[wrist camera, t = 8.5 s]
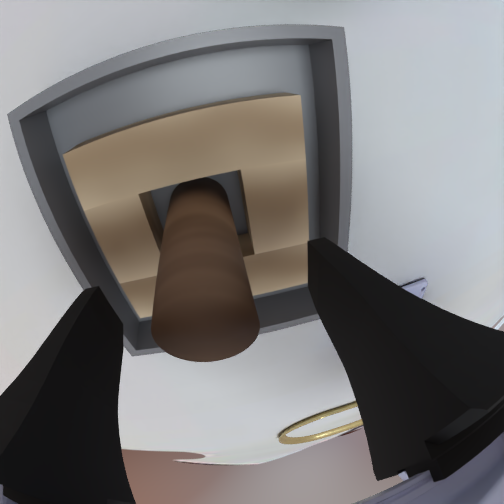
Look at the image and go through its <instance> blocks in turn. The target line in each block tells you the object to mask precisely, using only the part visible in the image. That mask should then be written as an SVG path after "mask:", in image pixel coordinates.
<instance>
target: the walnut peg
mask: <svg viewBox="0 0 504 504" xmlns="http://www.w3.org/2000/svg"><path fill="white" fill-rule="evenodd" d="M259 330H260V321H259V318H258V314H257V310H256V306H255V302H254V298H253V295H252V291H251V287H250V283H249V279H248V275H247V271H246V267H245V263H244V259H243V255H242V252H241V248H240V244H239V240H238V236H237V232H236V228H235V224H234V220H233V216H232V212H231V208H230V204H229V200H228V196H227V193H226V191H225V189H224V188H223V187H222V185H221V184H220V183H218V182H217V181H215V180H213V179H211V178H208V177H203V178H198V179H194V180H190V181H186V182H181V183H180V184H178V185H177V186H176V188H175V189H174V190H173V192H172V194H171V197H170V202H169V207H168V212H167V217H166V222H165V228H164V233H163V239H162V245H161V251H160V258H159V264H158V271H157V278H156V286H155V294H154V302H153V312H152V322H151V334H152V337H153V339H154V341H155V342H156V344H157V345H158V346H159V347H160V348H161V349H162V350H164V351H165V352H167V353H168V354H170V355H172V356H174V357H177V358H180V359H184V360H188V361H195V362H211V361H218V360H223V359H226V358H230V357H232V356H235V355H237V354H239V353H241V352H242V351H244V350H245V349H247V348H248V347H249V346H250V345H251V344H252V343H253V342H254V341H255V340H256V338H257V336H258V334H259Z"/></svg>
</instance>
